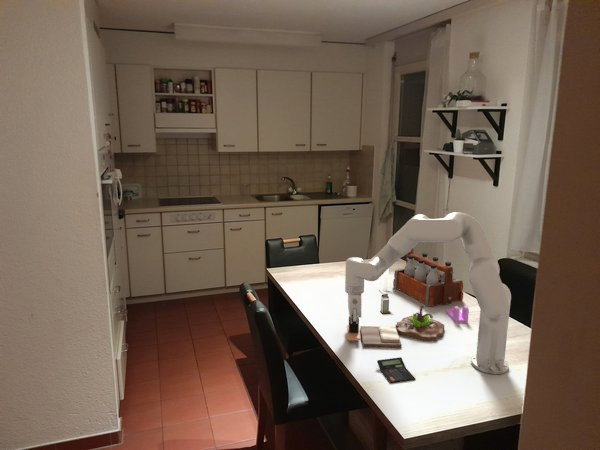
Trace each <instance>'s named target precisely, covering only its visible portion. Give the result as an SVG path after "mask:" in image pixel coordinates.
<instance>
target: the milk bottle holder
mask: <svg viewBox="0 0 600 450" xmlns="http://www.w3.org/2000/svg"><path fill="white" fill-rule="evenodd" d="M421 255H422V256H419V255H417V254H414V252H413V251H412V250H411V251H410V252H409V253H407V254H406V255H405V256H406V257H405V258H406V259H405V260H406V262H405V265H404V268H401V269H400V268H399V269H396V270H394V273H393V277H394V279H393V280H392V281H393V282H392V285H393V286H392V287H393V288H394V289H395V290H399V291H400V292H402V293H404V294H406V295H408V296H410V297H412V298H414V299H416V300H417V301H419V302H421V303H422V304H424V305H425V306H427V307H431V308H432V307H434V306H437V305H443V306H445V305H450V304H452V303H453V302H458V301H460V302H461V301H463V300H464V289H463V288H464V282H463V280H462V279H456V278H454V269H453V266H452V262H450V261H446V262H445V264H444V265H443V264H440V263H439V257H437V256H433V257H432V260H430V259H428V258H429V257H428V253H426V252H422V253H421ZM414 261H417V266H415V264H414ZM441 272H442V273H441Z"/></svg>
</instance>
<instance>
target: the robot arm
mask: <svg viewBox="0 0 600 450" xmlns="http://www.w3.org/2000/svg"><path fill="white" fill-rule="evenodd" d="M459 239H460V240H461V241H462V245H463V248H464V251H465V254H466V256H467V258H468V262H469V268H468V278H469V282H470V286H471V289H472V291H473V293H474V296H475V299H476V302H477V304H478V307H479V309H480V311H479V312H480V313H479V322H478V334H477V344H476V345H477V346H476V355H474V356H472V358H471V361H470V362H471V365H472V367H474V368H475V369H476V370H478V371H481V372H483V373H486V374H492V375H500V374H501V375H502V374H505V373H507V372H508V370H509V363H508V362H507V361H506V360H505V358H506V349H507V340H508V339H507V338H508V330H509V321H510V309H511V301H512V294H511V291H510V288H509V287H508V286H507V285H506V284H505V283H503V282H502V279H501V276H500V265H499V262H498V261H497V257H496V256H495V254H494V250H493V248H492V245H491V242H490V241H489V239H488V236H487V233H486V232H485V230H484V227H483V226H482V225H481V223H480V222H479V221H478V220H477V219H476V218H475V217H473V216H472V215H470V214H468V213H464V212H458V211H455V212H450V213H447V214H446V215H445V216H444V217H443V218H429V217H428V215H426V214H421V213H420V214H416V215H414V216H412V217H411V218H410V219H409V220H407V221H406V223H405V224H404V225H402V227H401V228H400V229H399V230H397V231H396V232H395V233H394V234H393V235H392V236H391V237H390V238H389V239H388V241H387V243H386V244H385V245H384V246H383V247H382V248H381V249H380V250H379V251H378V252H377V253H376V254H375V255H374V256H373V257H371V258H370V259H369V260H368V261H365V260H364V259H363V258H362V257H357V256H353V257H348V258H347V259H346V260H345V276H344V277H345V278H344V279H345V281H344V282H345V285H344V288H345V289H344V291H345V293H346V294H347V306H348V315H349V316H350V317H351V323H350V332H351V333H357V332H358V317H359V318H362V295H363V294H364V292H365V281H368V282H376V281H377V280H379V279H380V278H381V276H382V275H384V273H386V271H388V269H390V268H391V267H392V266H393V265H394V264H395V263H396V262H397V261H398V260H399V259H401V258H402V257H405V256H406V255H407V253H409V252H410V251H412V250H413V249H414V248H415V247H416V246H417V245H418V244H419V243H426V244H429V243H430V244H432V243H435V244H437V243H439V244H447V243H448V244H449V243H454V242H456V241H458V240H459ZM349 316H348V317H349ZM352 318H353V319H352Z"/></svg>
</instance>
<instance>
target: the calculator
mask: <svg viewBox="0 0 600 450" xmlns="http://www.w3.org/2000/svg"><path fill="white" fill-rule="evenodd" d="M376 362H377V364H378V367H379V370H380V372H381V374H382V373H383V374H382V375H383V376H384V377H385V379H386V378H387V379H386V380H387V381H388V382H389V384H395V383H396V384H397V383H402V382H410V381H416V380H417V379H416V377H415V376H414V375H413V373H411V372H410V371H409V370H408V368H406V365H405V362H404V360H403V358H402V357H394V358H393V357H392V358H386V359H378V360H377V361H376Z"/></svg>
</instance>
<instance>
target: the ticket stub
mask: <svg viewBox="0 0 600 450" xmlns="http://www.w3.org/2000/svg"><path fill="white" fill-rule="evenodd" d="M359 318H360V317H358V332H357V333H351V332H350V323H351V317H350V316H348V324H347V325H346V333H347V340H348V341H362V336H361V330H360V319H359ZM352 319H353V318H352Z"/></svg>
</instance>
